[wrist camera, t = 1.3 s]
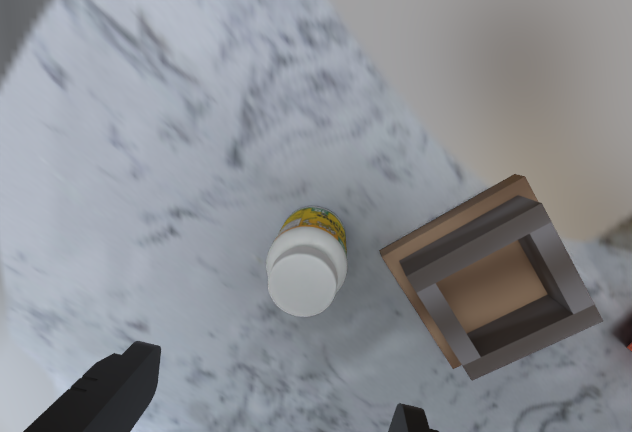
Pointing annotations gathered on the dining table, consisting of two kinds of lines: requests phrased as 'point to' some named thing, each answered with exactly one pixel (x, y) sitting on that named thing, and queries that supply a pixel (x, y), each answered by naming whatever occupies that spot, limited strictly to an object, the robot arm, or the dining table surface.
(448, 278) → the collar stand
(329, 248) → the supplement bottle
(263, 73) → the dining table surface
